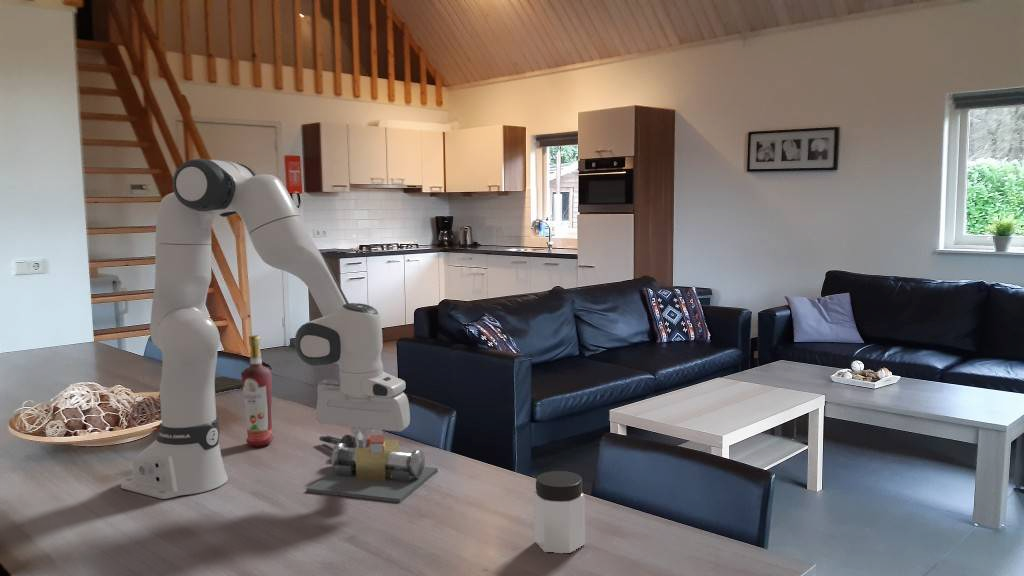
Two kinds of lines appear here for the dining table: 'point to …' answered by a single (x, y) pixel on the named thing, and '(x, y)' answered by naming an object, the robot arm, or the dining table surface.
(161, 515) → the dining table surface
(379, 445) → the lever
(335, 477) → the mat
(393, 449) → the pipe valve
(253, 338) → the liquor
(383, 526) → the dining table surface
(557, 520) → the jar
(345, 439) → the valve
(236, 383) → the dark grey flat slab
